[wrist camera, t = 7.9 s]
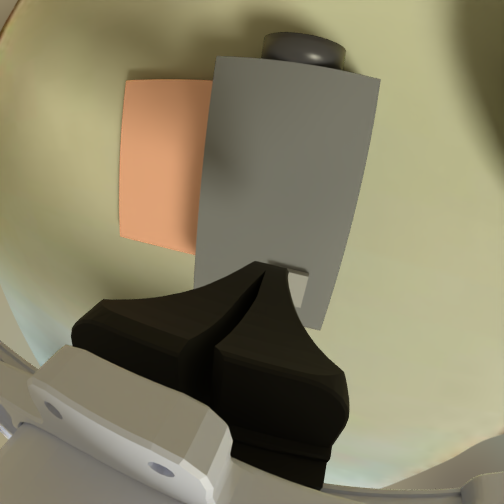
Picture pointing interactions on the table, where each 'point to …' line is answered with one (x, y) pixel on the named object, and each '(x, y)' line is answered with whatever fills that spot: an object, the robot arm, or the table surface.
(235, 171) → the camera housing
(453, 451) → the table surface
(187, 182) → the side door
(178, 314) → the robot arm
